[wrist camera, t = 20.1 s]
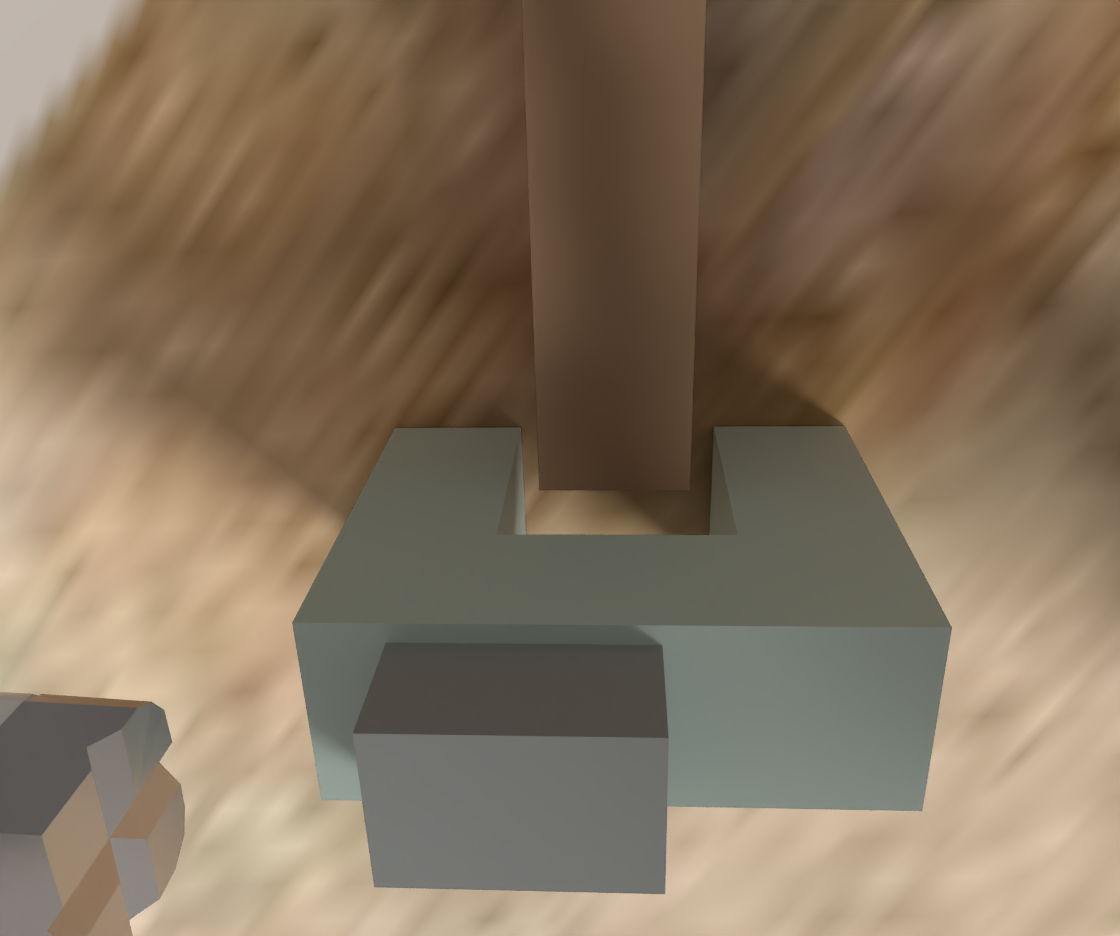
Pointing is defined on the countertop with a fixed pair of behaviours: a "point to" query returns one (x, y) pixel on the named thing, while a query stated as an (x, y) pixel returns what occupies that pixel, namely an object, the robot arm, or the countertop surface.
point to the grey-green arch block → (611, 662)
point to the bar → (614, 236)
